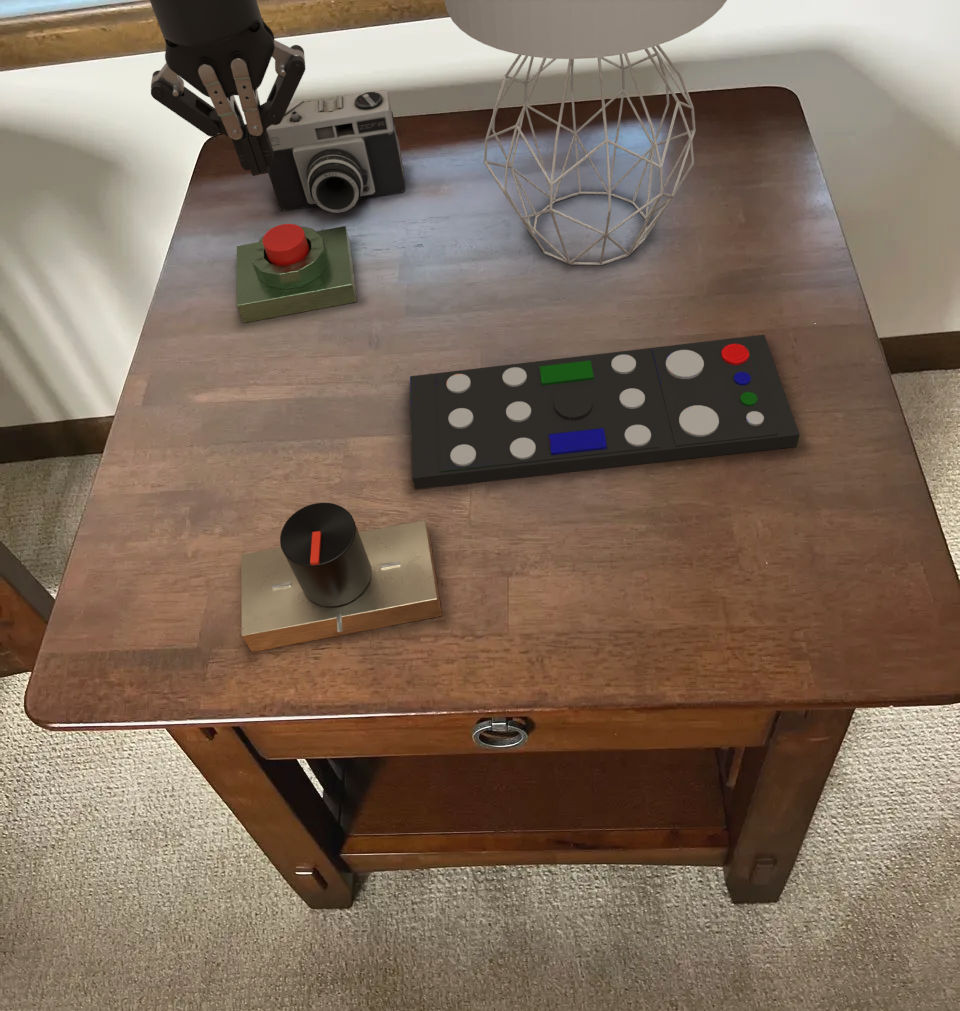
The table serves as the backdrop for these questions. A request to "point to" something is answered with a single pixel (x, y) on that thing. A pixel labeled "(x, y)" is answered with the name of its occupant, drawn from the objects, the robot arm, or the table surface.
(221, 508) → the table surface
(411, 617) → the panel
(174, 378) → the table surface
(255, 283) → the box
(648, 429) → the remote control
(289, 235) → the button
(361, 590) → the hob knob
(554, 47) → the table lamp
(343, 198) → the camera
